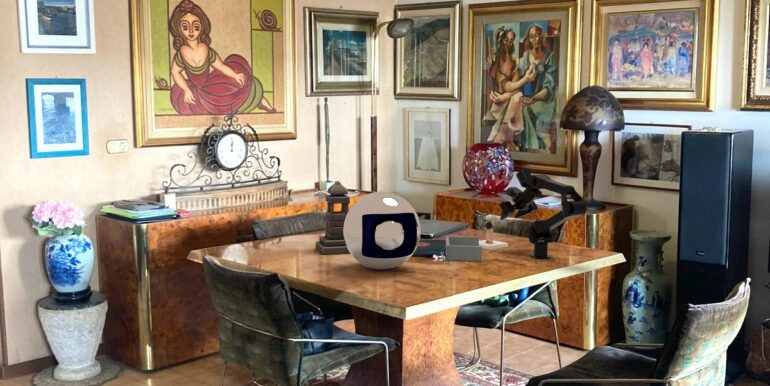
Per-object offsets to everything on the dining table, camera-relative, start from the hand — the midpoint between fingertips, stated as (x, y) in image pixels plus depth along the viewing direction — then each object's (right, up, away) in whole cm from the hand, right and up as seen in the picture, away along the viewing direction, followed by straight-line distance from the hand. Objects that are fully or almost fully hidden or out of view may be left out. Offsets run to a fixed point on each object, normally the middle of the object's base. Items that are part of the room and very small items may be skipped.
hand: (508, 218), depth 387 cm
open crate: (-20, -15, -13) cm, 28 cm away
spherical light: (-55, -18, -42) cm, 72 cm away
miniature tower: (-74, -14, -7) cm, 75 cm away
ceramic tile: (-8, -12, +9) cm, 17 cm away
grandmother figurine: (-7, -11, +8) cm, 16 cm away
